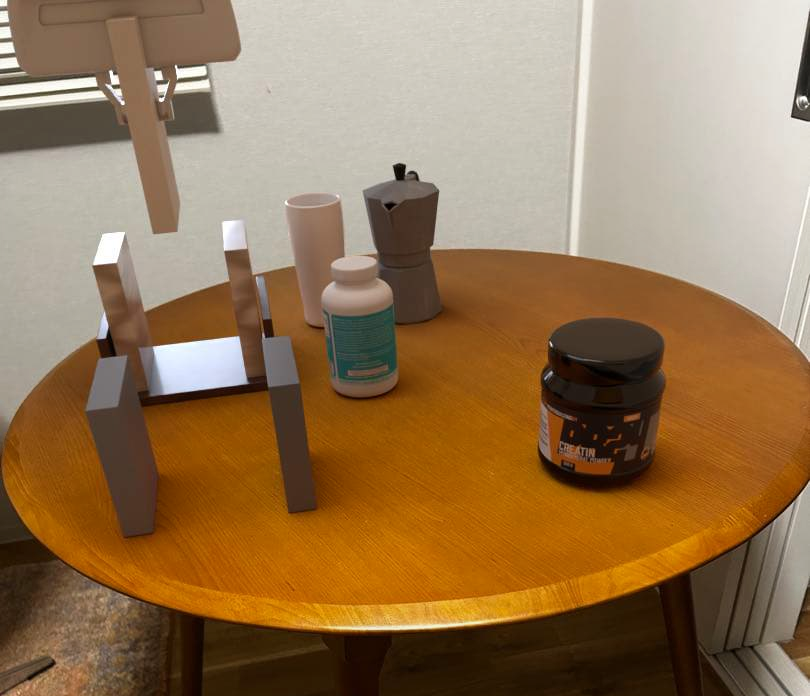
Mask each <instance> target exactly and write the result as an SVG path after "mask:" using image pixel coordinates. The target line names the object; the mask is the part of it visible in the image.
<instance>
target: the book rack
mask: <svg viewBox="0 0 810 696" xmlns="http://www.w3.org/2000/svg"><path fill="white" fill-rule="evenodd" d="M222 237H223V253H224V258H225V265H226V270H227V274H228V280H229V286H230V287H229V288H230V293H231V298H232V305H233V310H234V316H235V322H236V326H237V327H236V328H237V332H238V336H229V337H221V338H214V339H205V340H198V341H189V342H179V343H173V344H163V345H156V346H153V341H152V337H151V333H150V330H149V325H148V321H147V316H146V313H145V309H144V304H143V300H142V296H141V293H140V287H139V283H138V279H137V274H136V271H135V267H134V263H133V259H132V255H131V250H130V246H129V241H128V238H127V234H126V232H125V231H120V232H111V233H103V234H102V237H101V238H100V242H99V244H98V247H97V251H96V253H95V256H94V260H93V262H92V265H91V266H92V267H91V268H92V270H93V274H94V278H95V281H96V286H97V288H98V293H99V296H100V300H101V303H102V307H103V312H102V316H101V321H100V325H99V327H98V330H97V335H96V338H95V341H96V345H97V348H98V351H99V355H100V359H101V358H109V357H117V356H125V355H127V356H128V358H129V362H130V366H131V370H132V373H133V377H134V381H135V385H136V389H137V393H138V396H139V400H140V404H141V407H145V406H154V405H160V404H169V403H176V402H177V403H178V402H183V401H191V400H199V399H206V398H215V397H222V396H230V395H239V394H245V393H246V394H247V393H254V392H262V391H269V389H268V382H267V375H266V367H265V360H264V353H263V346H262V339H264V338H272V337H275V331H274V326H273V319H272V313H271V306H270V301H269V296H268V295H269V294H268V290H267V284H266V277H265V275H260V276H256V277H255V279H254V273H253V267H252V260H251V254H250V248H249V241H248V236H247V229H246V224H245V219H235V220H225V221H222ZM255 281H256V282H255ZM255 283H256V286H255ZM256 288H257V292H256ZM257 296H258V299H257ZM258 300H259V301H258ZM258 302H259V306H258ZM259 308H260V309H259ZM259 310H260V311H259ZM260 314H261V315H260ZM260 316H261V317H260ZM260 318H261V319H260ZM261 323H262V325H261Z"/></svg>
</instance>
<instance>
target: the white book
mask: <svg viewBox="0 0 810 696" xmlns="http://www.w3.org/2000/svg"><path fill="white" fill-rule="evenodd" d="M106 25H107V29H108V34H109V38H110V43H111V47H112V52H113V56H114V61H115V65H116V70H117V71H116V74H117V78H118V83H119V88H120V92H121V96H122V102H123V101H124V106H125V110H126V115H127V119H128V124H127V125H128V128H129V132H130V136H131V142H132V147H133V150H134V151H133V152H134V155H135V159H136V164H137V169H138V173H139V177H140V182H141V187H142V191H143V195H144V200H145V204H146V209H147V214H148V218H149V222H150V223H149V224H150V227H151V231H152V234H153V235H160V234H169V233H178V231H179V219H180V211H181V200H180V199H181V198H180V194H179V190H178V185H177V179H176V174H175V169H174V164H173V159H172V154H171V149H170V143H169V140H168V134H167V130H166V125H165V121H159V118H158V111H157V108H156V103H155V101H156V99H160V94H159V90H158V89H159V88H158V84H157V79H156V75H155V69H154V68H155V67H154V68H148V67H147V63H146V58H145V53H144V48H143V43H142V38H141V33H140V28H139V23H138V17H137V15H130V16H116V17H110V18H109V19H108V20H106Z"/></svg>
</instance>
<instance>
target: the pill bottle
mask: <svg viewBox="0 0 810 696" xmlns="http://www.w3.org/2000/svg"><path fill="white" fill-rule="evenodd" d="M377 261H378V260H377V258H375V257H372V256H368V255H351V256H345V257H344V258H340V259H337V260H335V261H334V262H333V263H332V264H331V271H332V277H333V279H334V280H335V281H334V282H332V283H331V284H329V285H328V286H327V287H326V288H325V289H324V291H323V293H322V297H321V301H322V310H323V318H324V327H323V328H324V334H325V343H326V351H327V361H328V370H329V377H330V383H331V386H332V388H333V389H334V391H336V392H337V393H338V394H341V395H343V396H345V397H350V398H371V397H376V396H380V395H382V394H385V393H387V392H389V391H391V390H392V389H394V388H395V386H396V385H397V383H398V381H399V368H398V367H399V365H398V364H399V363H398V351H397V337H396V335H397V334H396V324H395V320H394V304H393V293H392V290H391V288H390V286H389V285H388V284H387V283H386V282H384V281H383V280H381V279H378V278H376V276H377V274H378V267H377Z"/></svg>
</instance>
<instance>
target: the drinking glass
mask: <svg viewBox="0 0 810 696" xmlns="http://www.w3.org/2000/svg"><path fill="white" fill-rule="evenodd" d="M284 205H285V216H286V218H285V219H286V227H287V233H288V239H289V245H290V250H291V255H292V259H293V264H294V267H295V273H296V277H297V282H298V286H299V291H300V296H301V302H302V306H303V307H302V308H303V315H304V320H305V322H306V323H307V324H308V325H309V326H312V327H315V328H325V327H324V318H323V310H322V301H321V297H322V293H323V291H324V289H325V288H326V287H327V286H328V285H329V284H331V283H332V282H334V281H335V280H334V279H333V277H332V271H331V264H332V263H333V262H334V261H335V260H337V259H340V258H344V257H346V244H345V243H346V240H345V239H346V238H345V222H344V221H345V220H344V213H343V205H342V198H341V196H340V195H339V194H336V193H333V192H327V191H326V192H323V191H321V192H320V191H317V192H316V191H315V192H306V193H305V192H304V193H300V194H296V195H294V196H290V197H288V198H287V199H286V200H285V202H284Z"/></svg>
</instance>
